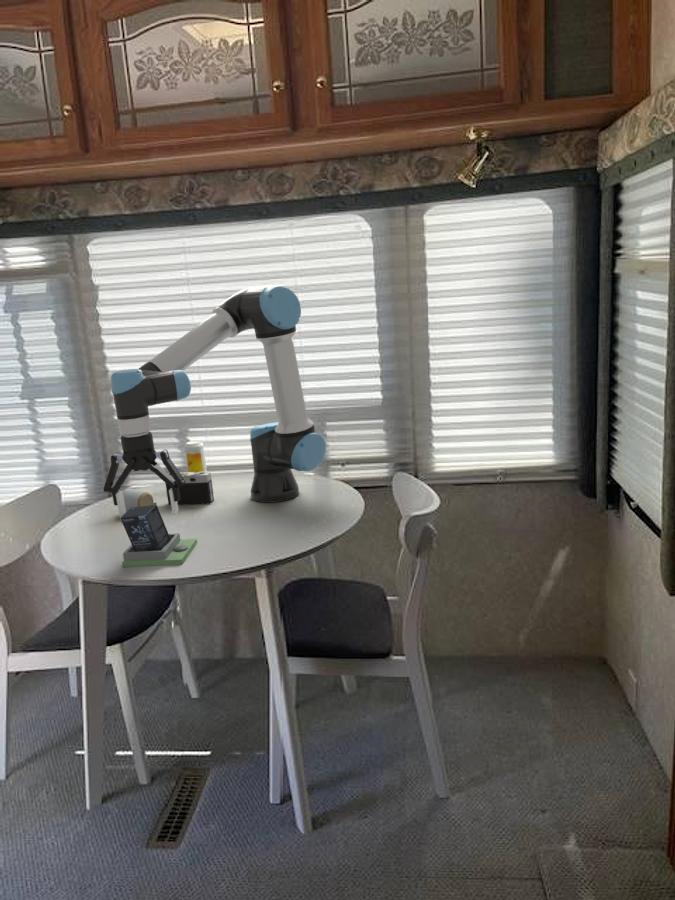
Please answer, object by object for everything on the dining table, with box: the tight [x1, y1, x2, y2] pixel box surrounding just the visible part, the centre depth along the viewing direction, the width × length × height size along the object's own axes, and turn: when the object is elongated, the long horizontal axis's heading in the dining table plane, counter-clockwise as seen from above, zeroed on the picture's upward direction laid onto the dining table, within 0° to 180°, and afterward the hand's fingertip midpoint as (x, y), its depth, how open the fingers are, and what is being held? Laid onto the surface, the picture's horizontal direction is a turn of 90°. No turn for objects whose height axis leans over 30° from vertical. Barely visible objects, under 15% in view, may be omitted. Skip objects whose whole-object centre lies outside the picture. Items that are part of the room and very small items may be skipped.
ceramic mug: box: [122, 487, 157, 512], centre depth 212 cm, size 11×8×8 cm
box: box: [119, 504, 171, 552], centre depth 174 cm, size 8×6×11 cm
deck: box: [122, 533, 198, 567], centre depth 176 cm, size 15×14×3 cm
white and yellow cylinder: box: [184, 440, 208, 472], centre depth 237 cm, size 6×6×15 cm
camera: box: [164, 471, 215, 506], centre depth 219 cm, size 14×8×10 cm, turn 81°
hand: (149, 515), depth 175 cm, fingers open, 13 cm apart
